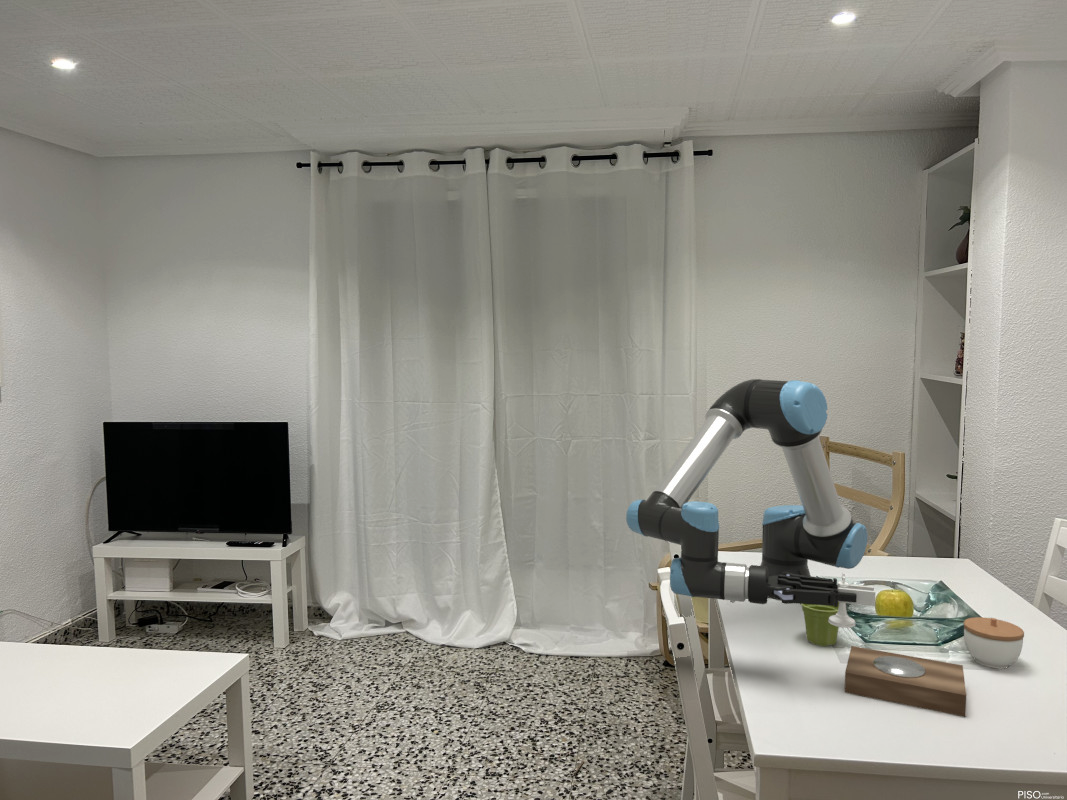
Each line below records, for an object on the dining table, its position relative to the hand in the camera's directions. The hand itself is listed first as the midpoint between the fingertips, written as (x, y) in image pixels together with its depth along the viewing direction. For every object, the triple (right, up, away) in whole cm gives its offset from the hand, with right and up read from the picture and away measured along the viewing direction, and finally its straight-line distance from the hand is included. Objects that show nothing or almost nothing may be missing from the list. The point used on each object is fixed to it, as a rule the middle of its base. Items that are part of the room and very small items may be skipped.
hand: (873, 596), depth 144 cm
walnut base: (+6, -18, 0) cm, 19 cm away
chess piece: (-5, -6, +2) cm, 8 cm away
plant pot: (-1, -16, +23) cm, 28 cm away
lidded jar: (+30, -17, +12) cm, 37 cm away
